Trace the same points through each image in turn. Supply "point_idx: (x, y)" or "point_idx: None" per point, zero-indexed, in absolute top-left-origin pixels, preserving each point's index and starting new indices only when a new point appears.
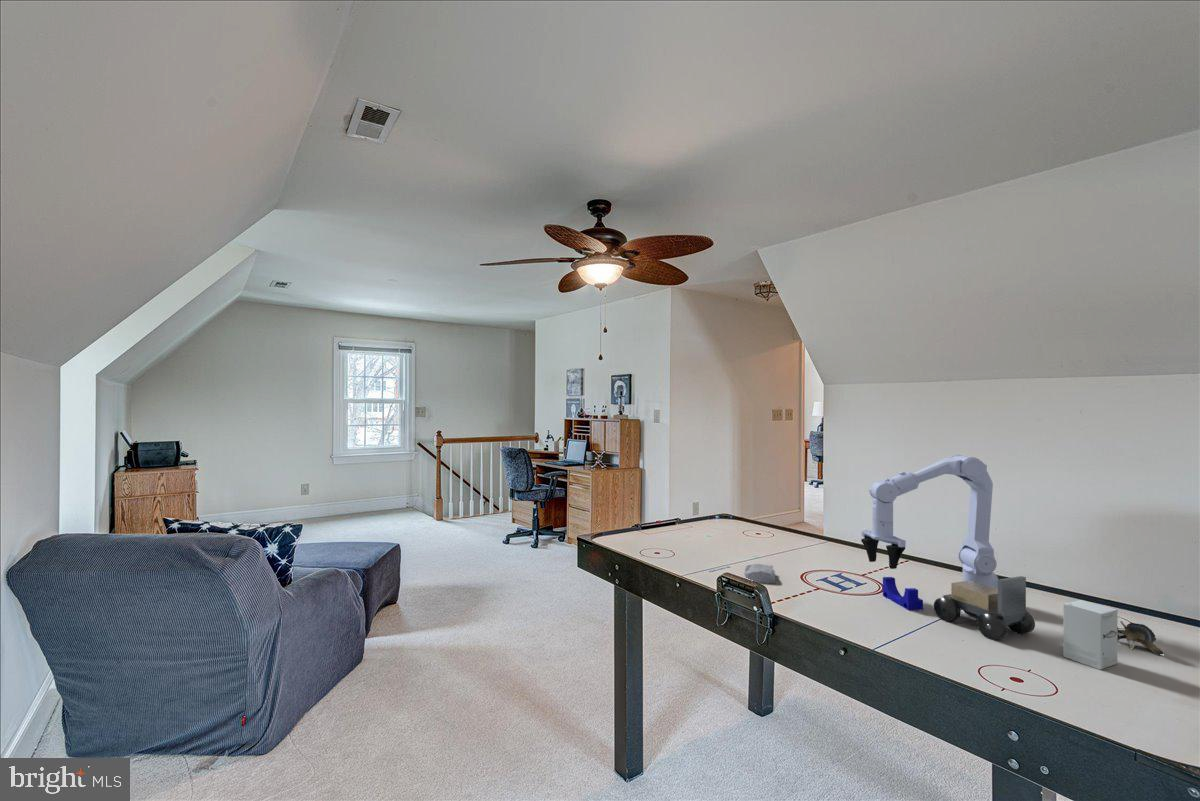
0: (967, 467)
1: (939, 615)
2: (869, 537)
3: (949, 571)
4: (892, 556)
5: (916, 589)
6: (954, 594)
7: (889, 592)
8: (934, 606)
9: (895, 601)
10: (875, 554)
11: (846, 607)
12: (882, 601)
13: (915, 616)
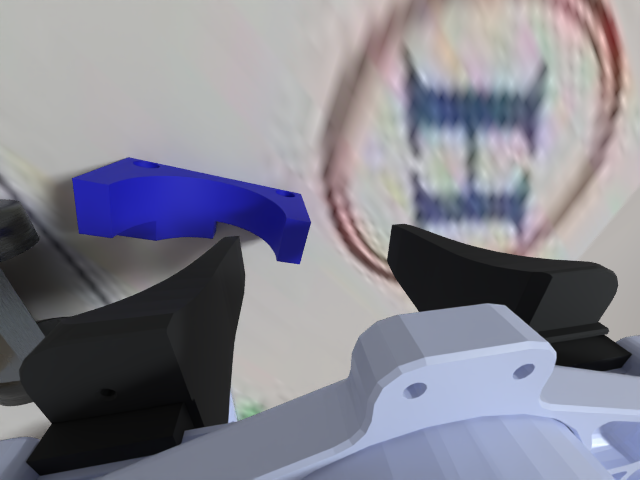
0: None
1: (4, 203)
2: (559, 364)
3: None
4: (164, 282)
5: (87, 230)
6: None
7: (257, 192)
8: (4, 212)
9: (218, 178)
10: (409, 288)
11: None
12: (245, 137)
13: (44, 121)
